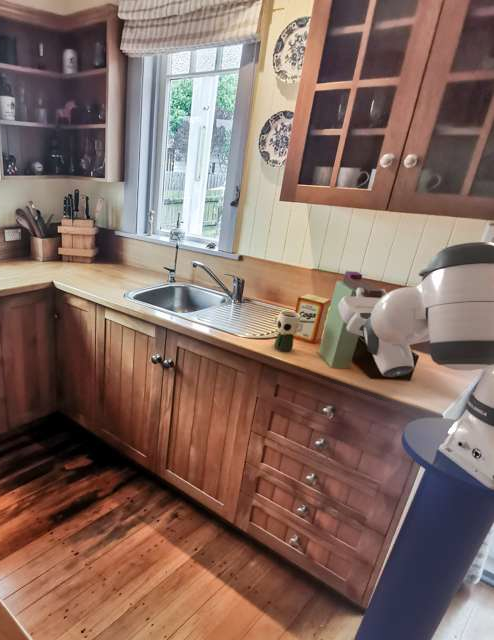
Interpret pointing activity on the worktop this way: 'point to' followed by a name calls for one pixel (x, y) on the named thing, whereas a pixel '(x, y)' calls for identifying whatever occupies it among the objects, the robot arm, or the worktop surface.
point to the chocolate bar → (361, 284)
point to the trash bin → (369, 365)
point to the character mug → (287, 329)
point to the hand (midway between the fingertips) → (369, 289)
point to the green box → (338, 332)
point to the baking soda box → (311, 317)
